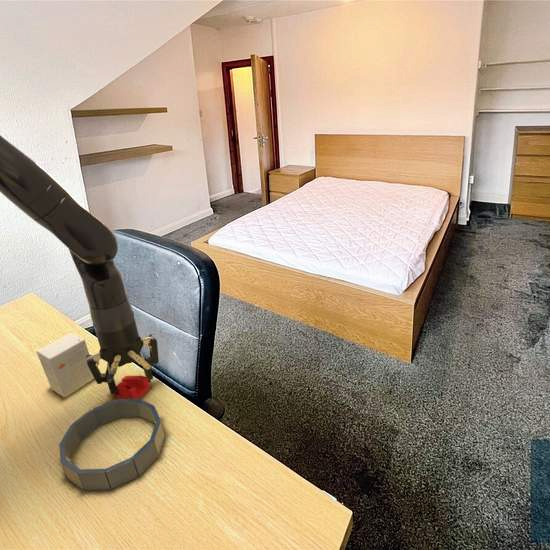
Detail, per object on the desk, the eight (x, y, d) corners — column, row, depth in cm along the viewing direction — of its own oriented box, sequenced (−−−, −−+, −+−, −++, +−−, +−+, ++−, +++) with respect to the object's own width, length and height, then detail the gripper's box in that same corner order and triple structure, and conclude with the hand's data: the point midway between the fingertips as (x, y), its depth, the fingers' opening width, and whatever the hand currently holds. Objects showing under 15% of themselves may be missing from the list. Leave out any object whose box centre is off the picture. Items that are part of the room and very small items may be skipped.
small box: (83, 369, 95) (71, 331, 91) (97, 377, 92) (85, 338, 88) (50, 389, 90) (35, 350, 85) (64, 399, 87) (49, 358, 82)
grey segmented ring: (70, 508, 64) (63, 491, 62) (63, 437, 77) (57, 421, 75) (174, 460, 71) (170, 443, 69) (151, 402, 84) (147, 387, 82)
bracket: (150, 388, 88) (147, 377, 86) (134, 403, 84) (131, 392, 83) (127, 381, 90) (124, 370, 89) (111, 395, 86) (107, 384, 85)
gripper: (146, 301, 86) (161, 365, 93) (72, 323, 80) (94, 389, 87) (155, 317, 80) (170, 384, 87) (76, 341, 74) (99, 411, 81)
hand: (132, 386), depth 87 cm, fingers closed on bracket, 6 cm apart
